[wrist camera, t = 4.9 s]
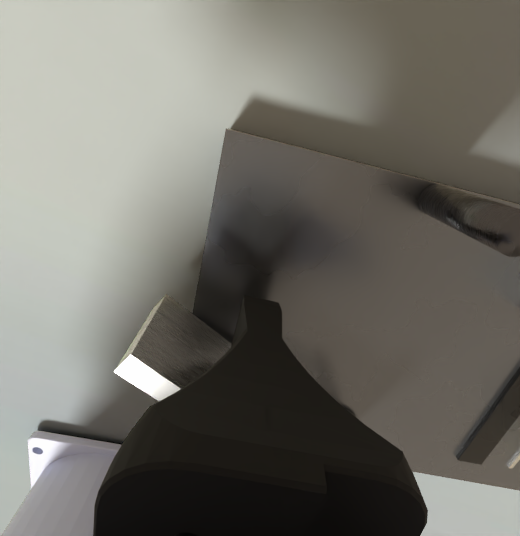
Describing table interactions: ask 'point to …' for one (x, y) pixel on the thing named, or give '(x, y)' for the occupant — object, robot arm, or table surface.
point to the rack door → (170, 350)
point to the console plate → (379, 296)
